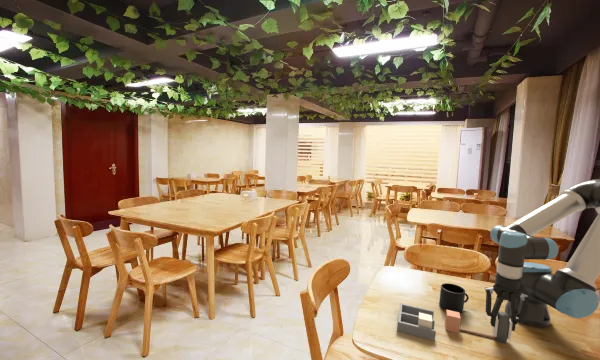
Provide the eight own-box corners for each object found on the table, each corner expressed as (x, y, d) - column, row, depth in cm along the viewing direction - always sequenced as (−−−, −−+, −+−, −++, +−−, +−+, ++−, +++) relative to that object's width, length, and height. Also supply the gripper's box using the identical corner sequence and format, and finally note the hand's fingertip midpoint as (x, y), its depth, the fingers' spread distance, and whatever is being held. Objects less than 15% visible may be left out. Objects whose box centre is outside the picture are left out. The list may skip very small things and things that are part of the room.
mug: (473, 314, 123) (476, 294, 122) (445, 313, 123) (447, 293, 122) (461, 302, 133) (463, 283, 132) (435, 301, 132) (437, 282, 131)
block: (430, 330, 111) (431, 315, 110) (430, 336, 107) (432, 321, 106) (417, 326, 113) (419, 312, 112) (417, 333, 108) (419, 318, 108)
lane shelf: (432, 318, 119) (433, 310, 118) (434, 340, 105) (435, 331, 104) (399, 310, 123) (400, 303, 123) (396, 330, 110) (397, 321, 109)
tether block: (504, 337, 108) (508, 312, 107) (508, 345, 104) (511, 319, 103) (444, 323, 115) (447, 299, 114) (445, 330, 111) (448, 305, 110)
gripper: (533, 275, 104) (525, 336, 107) (479, 266, 110) (473, 324, 113) (541, 284, 97) (532, 349, 100) (484, 274, 103) (477, 335, 106)
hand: (501, 336), depth 106 cm, fingers closed on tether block, 3 cm apart
